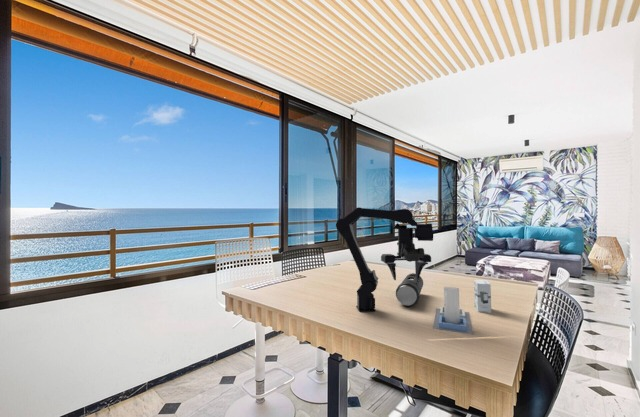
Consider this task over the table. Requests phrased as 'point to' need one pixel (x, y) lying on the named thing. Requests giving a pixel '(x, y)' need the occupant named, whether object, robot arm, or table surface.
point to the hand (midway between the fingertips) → (406, 279)
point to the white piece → (451, 305)
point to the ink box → (482, 296)
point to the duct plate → (462, 328)
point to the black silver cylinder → (409, 290)
